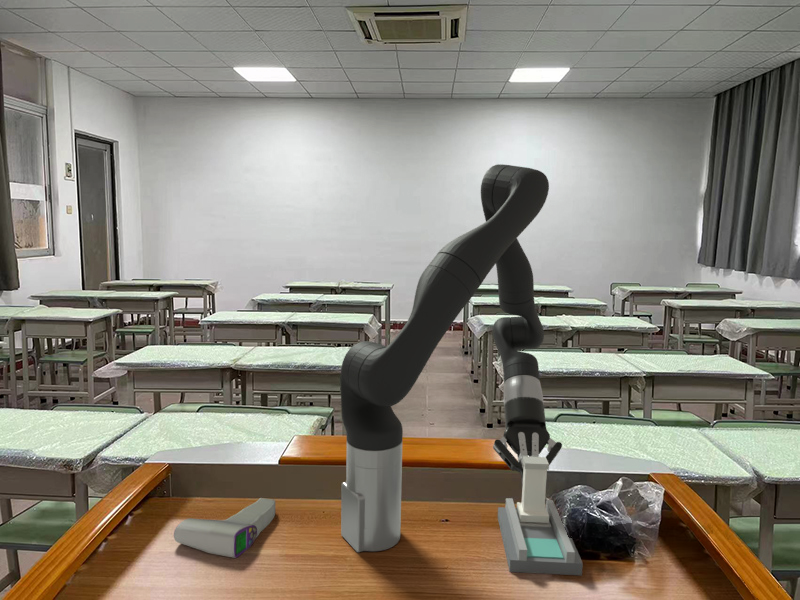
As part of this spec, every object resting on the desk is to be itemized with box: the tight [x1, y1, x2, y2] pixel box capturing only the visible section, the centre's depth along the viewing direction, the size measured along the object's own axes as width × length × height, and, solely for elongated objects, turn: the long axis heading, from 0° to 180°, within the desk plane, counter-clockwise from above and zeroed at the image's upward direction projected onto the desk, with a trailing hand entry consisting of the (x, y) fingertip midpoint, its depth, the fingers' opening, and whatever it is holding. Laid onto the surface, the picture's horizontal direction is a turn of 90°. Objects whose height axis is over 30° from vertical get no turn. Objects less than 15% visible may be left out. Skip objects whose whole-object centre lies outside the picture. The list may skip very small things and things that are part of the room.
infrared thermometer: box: [173, 497, 276, 559], centre depth 99 cm, size 5×12×15 cm
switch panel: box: [497, 497, 584, 576], centre depth 96 cm, size 16×11×4 cm
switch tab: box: [516, 456, 550, 523], centre depth 100 cm, size 4×5×10 cm
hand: (531, 493), depth 102 cm, fingers closed
